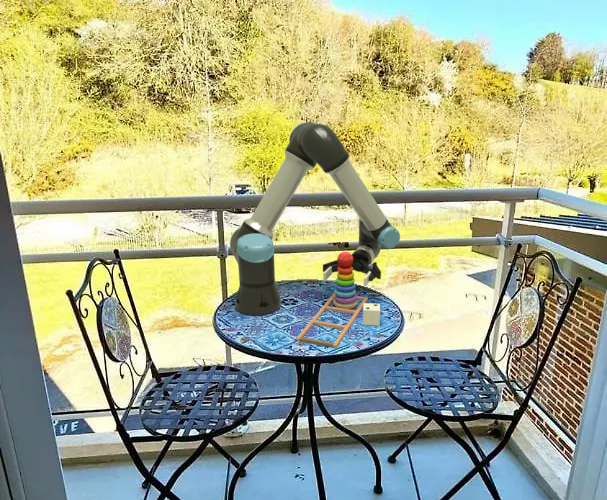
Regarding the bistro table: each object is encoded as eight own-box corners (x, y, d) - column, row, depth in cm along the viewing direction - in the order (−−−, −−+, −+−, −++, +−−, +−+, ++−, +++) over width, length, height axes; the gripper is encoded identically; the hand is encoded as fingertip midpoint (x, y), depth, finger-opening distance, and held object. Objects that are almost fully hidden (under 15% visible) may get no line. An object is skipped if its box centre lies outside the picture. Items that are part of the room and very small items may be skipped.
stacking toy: (331, 300, 156) (332, 248, 151) (355, 299, 157) (356, 247, 151) (334, 310, 149) (335, 256, 143) (359, 309, 149) (360, 255, 143)
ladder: (296, 340, 131) (296, 337, 131) (334, 295, 161) (334, 292, 160) (336, 348, 127) (336, 345, 126) (367, 299, 156) (367, 297, 156)
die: (362, 325, 139) (363, 309, 138) (363, 317, 144) (363, 302, 142) (379, 325, 139) (380, 310, 137) (379, 318, 143) (379, 303, 142)
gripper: (395, 272, 163) (382, 295, 144) (329, 264, 172) (308, 285, 153) (396, 252, 161) (383, 273, 142) (329, 245, 170) (308, 264, 151)
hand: (344, 279), depth 148 cm, fingers open, 13 cm apart
